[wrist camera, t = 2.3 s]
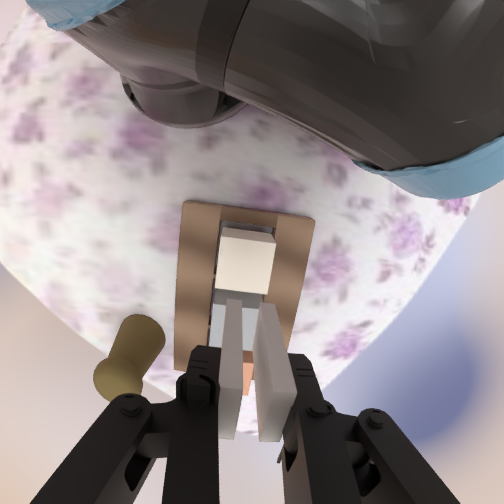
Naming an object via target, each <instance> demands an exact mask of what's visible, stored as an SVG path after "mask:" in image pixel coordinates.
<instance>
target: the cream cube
mask: <svg viewBox="0 0 504 504" xmlns="http://www.w3.org/2000/svg"><path fill="white" fill-rule="evenodd" d="M275 248H276V242H275V240H274V238H273V236H272V234H270V233H263V232H256V231H248V230H241V229H233V228H226V227H224V228H223V231H222V234H221V239H220V247H219V255H218V264H217V273H216V282H215V288H218V289H226V290H234V291H242V292H250V293H259V294H267V293H268V288H269V282H270V277H271V271H272V265H273V259H274V254H275Z"/></svg>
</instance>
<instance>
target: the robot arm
mask: <svg viewBox="0 0 504 504" xmlns="http://www.w3.org/2000/svg"><path fill="white" fill-rule="evenodd" d="M26 2H27V4H28V5H29V6H30V7H31V8H32V9H33V10H34V11H36V12H37V13H38V14H39V15H40V16H41V17H43V18H44V19H45V21H46V23H47V26H48V27H49V28H52V29H54V30H56V31H62V32H64V33H65V34H67V35H68V36H69V37H71V38H72V39H74V40H75V41H77V42H78V43H80V44H81V45H82V46H84V47H85V48H87V49H88V50H89V51H91V52H92V53H94V54H95V55H96V56H98V57H99V58H101V59H102V60H103V61H105V62H106V63H107V64H109V65H110V66H111V67H113V68H114V69H115V70H117V71H118V72H119V73H120V76H121V81H122V85H123V88H124V90H125V93H126V95H127V96H128V98H129V100H130V101H131V102H132V104H133V105H134V106H135V107H136V108H137V109H138V110H139V111H140V112H142V113H143V114H145V115H146V116H148V117H149V118H151V119H153V120H155V121H157V122H159V123H161V124H164V125H167V126H171V127H176V128H199V127H205V126H209V125H212V124H216V123H218V122H221V121H223V120H225V119H227V118H229V117H231V116H233V115H234V114H236V113H237V112H239V111H240V110H241V109H243V108H244V107H245V106H246V105H247V104H251V105H253V106H255V107H257V108H259V109H261V110H263V111H266V112H268V113H270V114H272V115H274V116H276V117H278V118H280V119H282V120H284V121H286V122H288V123H290V124H292V125H294V126H295V127H297V128H299V129H301V130H303V131H305V132H307V133H309V134H310V135H312V136H314V137H316V138H318V139H319V140H321V141H323V142H325V143H326V144H328V145H330V146H331V147H333V148H335V149H337V150H338V151H340V152H342V153H343V154H345V155H346V156H348V157H350V158H351V159H352V161H353V162H354V164H356V165H357V166H359V167H360V168H362V169H364V170H366V171H368V172H371V173H374V174H379V175H381V176H383V177H384V178H386V179H388V180H389V181H391V182H393V183H394V184H396V185H397V186H399V187H401V188H402V189H404V190H405V191H407V192H409V193H411V194H414V195H417V196H419V197H429V198H434V199H438V200H450V199H457V198H463V197H467V196H470V195H474V194H477V193H479V192H482V191H484V190H486V189H488V188H490V187H492V186H494V185H495V184H497V183H498V182H500V181H502V180H503V179H504V0H26ZM252 349H253V363H254V377H255V391H256V405H257V419H258V432H259V441H260V442H280V440H281V437H282V434H283V439H284V445H283V447H282V450H281V452H280V455H279V457H278V460H277V463H280V461H281V459H282V470H283V483H284V496H285V504H460V502H459V501H458V500H457V499H456V497H455V496H454V495H453V494H452V492H451V491H450V490H449V489H448V487H447V486H446V485H445V484H444V482H443V481H442V480H441V479H440V478H439V476H438V475H437V474H436V473H435V471H434V470H433V469H432V468H431V466H430V465H429V464H428V463H427V461H426V460H425V459H424V458H423V457H422V455H421V454H420V453H419V452H418V450H417V449H416V448H415V447H414V445H413V444H412V443H411V442H410V440H409V439H408V438H407V437H406V436H405V435H404V433H403V432H402V431H401V429H400V428H399V427H398V426H397V424H396V423H395V422H394V421H393V420H392V418H391V417H390V416H389V415H388V414H387V413H386V412H384V411H381V410H379V409H374V408H370V409H365V410H363V411H361V413H360V414H359V415H358V417H356V416H351V415H345V414H341V413H338V412H336V410H335V408H334V406H333V405H332V404H330V403H329V402H328V401H326V400H324V398H323V395H322V392H321V390H320V387H319V384H318V381H317V378H316V377H315V376H316V375H315V372H314V371H313V367H312V364H311V361H310V360H309V359H308V358H307V357H306V356H305V355H304V354H292V353H287V349H286V345H285V341H284V337H283V333H282V329H281V326H280V322H279V318H278V314H277V310H276V306H275V304H270V303H261V302H260V307H259V312H258V318H257V324H256V329H255V335H254V340H253V346H252ZM242 395H243V336H242V300H236V299H228V298H227V302H226V310H225V318H224V326H223V335H222V343H221V348H219V347H211V346H204V345H197V346H196V347H195V348H194V349H193V350H192V351H191V354H190V358H189V362H188V367H187V370H186V373H184V374H183V375H181V376H180V377H179V378H178V380H177V381H176V398H175V399H174V400H172V401H170V402H166V403H155V404H151V403H150V402H149V401H148V400H147V399H146V398H145V397H143V396H141V395H139V394H134V393H124V394H121V395H118V396H117V397H115V398H114V399H113V400H112V401H111V402H110V404H109V405H108V406H107V407H106V409H105V410H104V411H103V412H102V414H101V415H100V416H99V417H98V418H97V420H96V421H95V422H94V423H93V424H92V426H91V427H90V428H89V429H88V431H87V432H86V433H85V434H84V436H83V437H82V438H81V439H80V441H79V442H78V443H77V444H76V446H75V447H74V448H73V449H72V451H71V452H70V453H69V454H68V456H67V457H66V458H65V459H64V461H63V462H62V463H61V464H60V466H59V467H58V468H57V469H56V471H55V472H54V473H53V474H52V476H51V477H50V478H49V479H48V481H47V482H46V483H45V485H44V486H43V487H42V488H41V490H40V491H39V492H38V494H37V495H36V496H35V497H34V499H33V500H32V501H31V502H30V504H133V502H134V500H135V499H136V497H137V495H138V493H139V491H140V489H141V487H142V486H143V484H144V482H145V480H146V478H147V476H148V474H149V472H150V470H151V468H152V467H153V465H154V463H155V461H156V459H157V458H164V457H165V458H166V457H167V464H166V472H165V479H164V487H163V496H162V504H220V501H219V454H218V439H228V440H234V437H235V432H236V427H237V421H238V416H239V411H240V406H241V400H242Z"/></svg>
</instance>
